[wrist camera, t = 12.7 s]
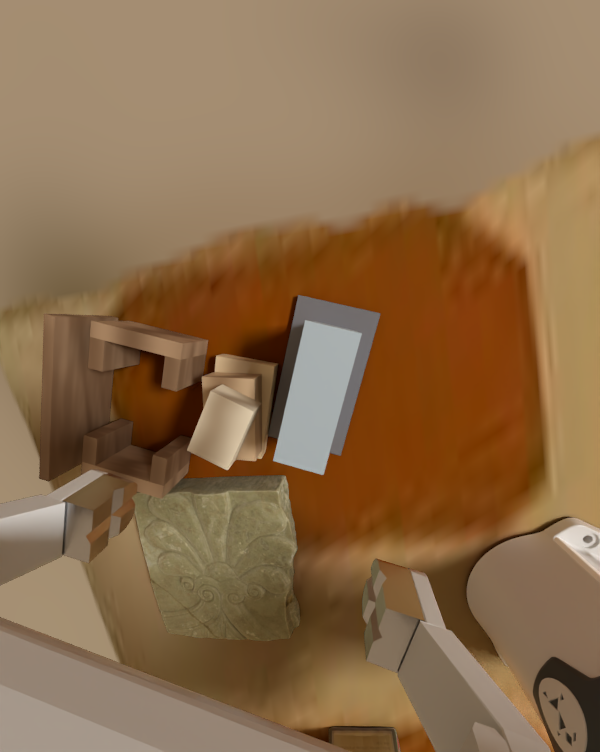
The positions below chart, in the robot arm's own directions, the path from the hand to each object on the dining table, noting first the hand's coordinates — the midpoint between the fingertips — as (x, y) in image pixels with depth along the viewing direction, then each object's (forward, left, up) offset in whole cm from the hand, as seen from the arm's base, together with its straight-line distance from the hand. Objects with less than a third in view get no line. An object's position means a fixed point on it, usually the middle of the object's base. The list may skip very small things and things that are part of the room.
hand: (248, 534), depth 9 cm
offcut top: (+6, +4, -16) cm, 18 cm away
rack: (+17, +6, -21) cm, 27 cm away
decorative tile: (+5, +22, -21) cm, 31 cm away
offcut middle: (+7, +4, -19) cm, 20 cm away
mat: (-1, -2, -21) cm, 21 cm away
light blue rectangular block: (-1, -1, -20) cm, 20 cm away
